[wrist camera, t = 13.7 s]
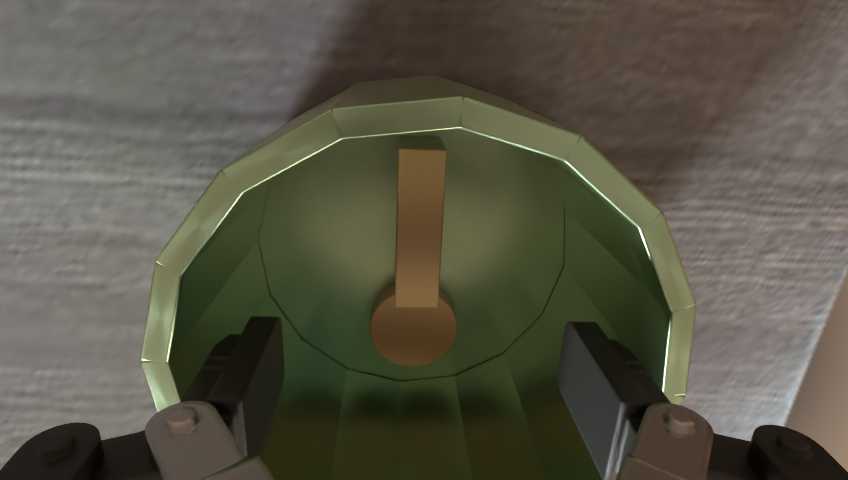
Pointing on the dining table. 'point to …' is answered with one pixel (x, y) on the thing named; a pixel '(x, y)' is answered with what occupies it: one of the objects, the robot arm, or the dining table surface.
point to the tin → (459, 277)
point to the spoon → (416, 262)
